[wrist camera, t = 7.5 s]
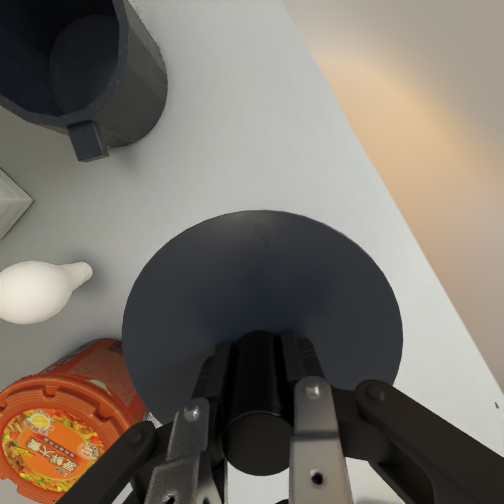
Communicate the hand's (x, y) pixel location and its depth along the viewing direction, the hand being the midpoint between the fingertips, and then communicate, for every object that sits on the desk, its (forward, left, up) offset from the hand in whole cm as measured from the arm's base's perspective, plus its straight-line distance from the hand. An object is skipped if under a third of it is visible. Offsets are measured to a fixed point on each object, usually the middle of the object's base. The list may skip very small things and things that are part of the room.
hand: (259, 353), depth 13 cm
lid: (0, 0, -1) cm, 1 cm away
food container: (+24, +12, -19) cm, 33 cm away
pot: (+12, -24, -19) cm, 33 cm away
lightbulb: (+22, -4, -19) cm, 29 cm away
